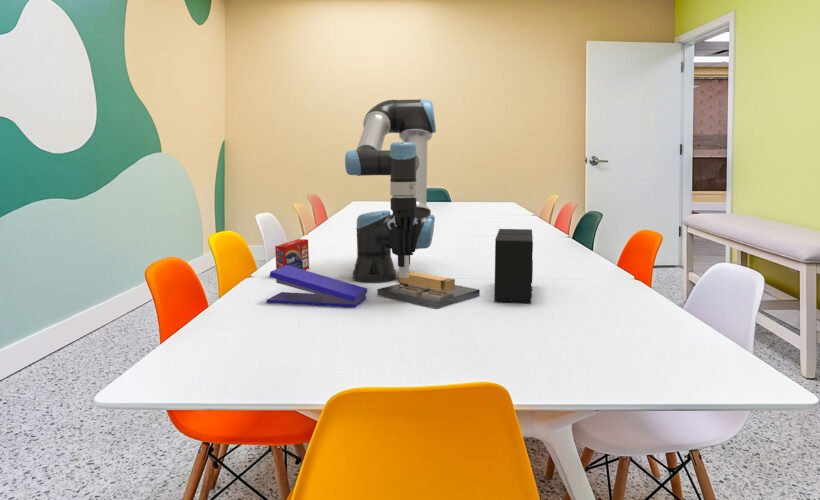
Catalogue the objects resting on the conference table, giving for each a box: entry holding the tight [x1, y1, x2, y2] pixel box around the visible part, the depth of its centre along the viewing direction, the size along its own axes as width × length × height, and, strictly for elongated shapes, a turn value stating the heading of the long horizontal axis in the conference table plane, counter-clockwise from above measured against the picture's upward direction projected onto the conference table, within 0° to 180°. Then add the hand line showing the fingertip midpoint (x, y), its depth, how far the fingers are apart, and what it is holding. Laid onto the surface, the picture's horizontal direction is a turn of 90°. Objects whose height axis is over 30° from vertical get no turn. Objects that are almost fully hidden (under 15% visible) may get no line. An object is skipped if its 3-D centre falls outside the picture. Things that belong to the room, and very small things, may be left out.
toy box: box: [274, 238, 310, 271], centre depth 212 cm, size 18×4×12 cm, turn 164°
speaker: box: [493, 228, 534, 304], centre depth 180 cm, size 25×11×19 cm, turn 169°
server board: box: [376, 283, 481, 310], centre depth 178 cm, size 24×20×3 cm
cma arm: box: [397, 270, 456, 291], centre depth 178 cm, size 20×4×3 cm, turn 47°
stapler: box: [266, 265, 369, 308], centre depth 172 cm, size 12×28×10 cm, turn 77°
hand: (404, 277), depth 172 cm, fingers closed
